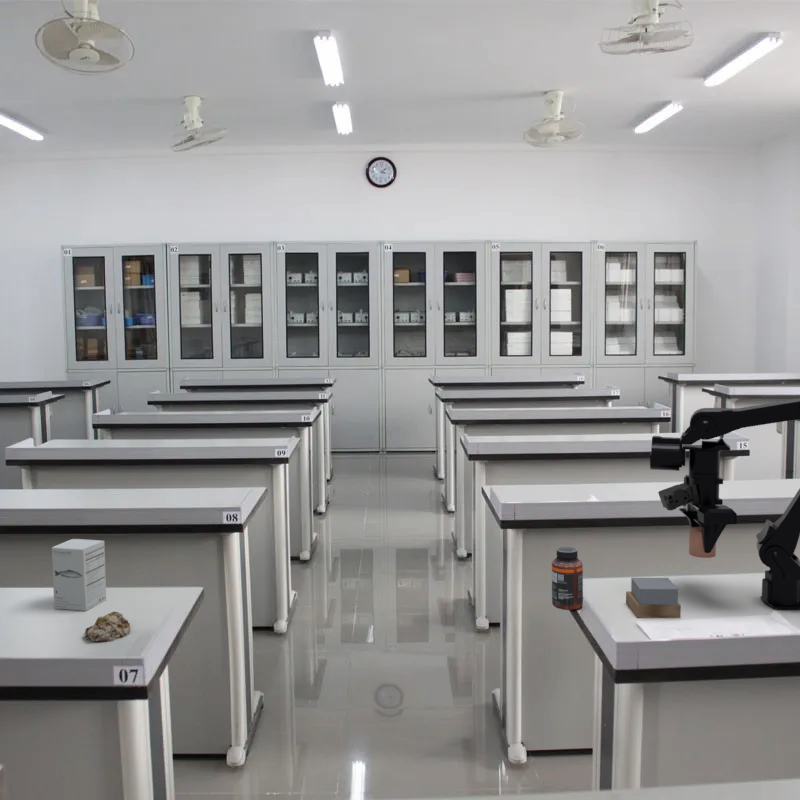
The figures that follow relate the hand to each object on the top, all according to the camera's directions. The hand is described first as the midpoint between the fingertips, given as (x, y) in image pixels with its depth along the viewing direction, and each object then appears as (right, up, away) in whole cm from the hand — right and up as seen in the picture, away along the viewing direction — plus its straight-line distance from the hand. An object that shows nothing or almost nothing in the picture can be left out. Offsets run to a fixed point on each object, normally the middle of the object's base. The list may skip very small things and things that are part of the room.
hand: (702, 549), depth 160 cm
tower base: (-12, -11, -7) cm, 18 cm away
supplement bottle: (-28, -11, -4) cm, 30 cm away
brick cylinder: (0, -1, 0) cm, 1 cm away
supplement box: (-125, -12, +1) cm, 125 cm away
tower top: (-12, -8, -7) cm, 16 cm away
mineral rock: (-114, -13, -14) cm, 115 cm away
